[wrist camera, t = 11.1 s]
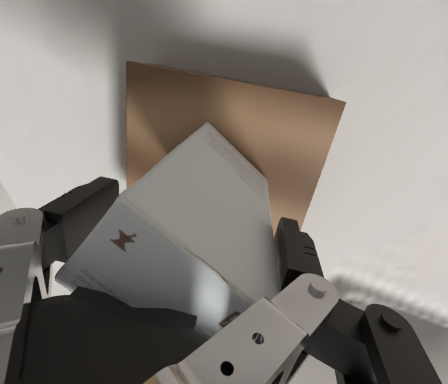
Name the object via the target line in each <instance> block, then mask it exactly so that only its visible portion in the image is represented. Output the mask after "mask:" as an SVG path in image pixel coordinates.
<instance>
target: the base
mask: <svg viewBox="0 0 448 384" xmlns="http://www.w3.org/2000/svg"><path fill="white" fill-rule="evenodd" d="M345 104H346V102H344V101H340V100H337V99H333V98H329V97H324V96H318V95H313V94H308V93H302V92H297V91H291V90H286V89H281V88H275V87H270V86H265V85H259V84H254V83H249V82H243V81H238V80H232V79H227V78H222V77H216V76H211V75H206V74H200V73H195V72H189V71H184V70H179V69H173V68H168V67H163V66H157V65H152V64H144V63H137V62H129V61H126V122H127V188H129V187H130V186H131V185H133V184H134V183H135V182H137V181H138V180H139V179H141V178H142V177H143V176H144V175H145V174H147V173H148V172H149V171H150V170H151V169H152V168H153V167H154V166H155V165H156V164H157V163H158V162H159V161H160V160H162V159H163V158H164V157H165V156H166V155H168V154H169V153H170V152H171V151H172V150H173V149H175V148H176V147H177V146H178V145H179V144H181V143H182V142H183V141H184V140H186V139H187V138H188V137H189V136H190V135H192V134H193V133H194V132H195V131H197V130H198V129H199V128H200V127H202V126H203V125H204V124H205V123H206V122H209V123H210V124H211V125H212V126H213V127H214V128H215V129H216V130H217V131H218V132H219V133H220V134H221V135H222V136H223V137H224V138H225V139H226V140H227V141H228V142H229V143H230V144H231V145H232V146H233V147H234V148H235V149H237V150H238V151H239V152H240V153H241V154H242V155H243V156H244V157H245V158H246V159H247V160H248V161H249V162H250V163H251V164H252V165H253V166H254V167H255V168H256V169H257V170H258V171H259V172H260V173H261V174H262V175H263V176H264V177H265V178H266V179H267V183H268V192H269V201H270V210H271V219H272V228H273V237H274V236H275V233H276V229H277V226H278V223H279V220H280V218H281V217H285V218H290V219H294V220H297V221H298V225H299V229H300V230H301V227H302V224H303V222H304V219H305V216H306V213H307V210H308V208H309V205H310V202H311V199H312V196H313V194H314V191H315V188H316V185H317V182H318V180H319V177H320V174H321V171H322V169H323V166H324V163H325V160H326V157H327V155H328V152H329V149H330V146H331V143H332V141H333V138H334V135H335V132H336V129H337V127H338V124H339V121H340V118H341V115H342V113H343V110H344V107H345Z"/></svg>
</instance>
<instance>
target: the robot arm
mask: <svg viewBox="0 0 448 384" xmlns="http://www.w3.org/2000/svg"><path fill="white" fill-rule="evenodd" d="M118 196H119V183H118V181H117V180H115V179H110V178H106V177H99V178H97V179H95V180H94V181H92V182H90V183H88V184H85V185H82V186H78V187H76V188H74V189H72V190H70V191H69V192H68V193H65V194H64V195H62V196H61V197H58V198H57V199H55V200H53V201H51V202H50V203H48V204H46V205H44V206H43V207H41V208H39V209H34V208H20V209H14V210H10V211H7V212H5V213H3V214H1V215H0V384H289V382H290V381H291V380H292V378H293V377H294V376H295V374H296V373H297V371H298V370H299V369H300V368H301V366H302V365H303V364H304V362H305V361H306V360H307V358H308V357H309V356H310V355H311V356H313V357H315V358H316V359H318V360H320V361H321V362H323V363H325V364H327V365H328V366H330V367H332V368H333V369H335V373H336V379H337V384H442V383H441V381H440V379H439V377H438V375H437V373H436V371H435V369H434V367H433V366H432V364H431V362H430V360H429V358H428V356H427V354H426V352H425V351H424V349H423V347H422V345H421V343H420V341H419V339H418V337H417V335H416V333H415V331H414V330H413V328H412V326H411V325H410V324H409V323H408V321H407V320H406V319H404V318H403V317H402V316H401V315H400V314H398V313H397V312H395V311H394V310H392V309H390V308H388V307H386V306H383V305H379V304H371V305H369V306H367V308H366V309H365V311H363V310H360V309H358V308H356V307H354V306H352V305H350V304H348V303H346V302H344V301H343V300H341V299H339V295H338V292H337V290H336V288H335V287H334V286H333V285H332V284H331V283H330V282H329V281H328V280H326V279H325V278H324V276H323V272H322V269H321V265H320V262H319V259H318V257H317V252H316V250H315V249H316V248H315V245H314V241H313V240H312V239H311V237H310V236H309V235H308V234H307V233H304V232H300V229H299V225H298V221H297V220H294V219H290V218H285V217H281V218H280V220H279V223H278V226H277V229H276V233H275V236H274V245H275V254H276V263H277V271H278V280H279V289H280V293H279V294H278V295H276V296H275V297H274V298H273V299H272V300H269V299H268V298H266V297H263V298H261V299H259V300H258V301H257V302H256V303H254V304H253V305H252V306H251V307H249V308H248V309H247V310H246V311H244V312H243V313H242V314H240V315H239V316H238V317H237V318H235V319H234V320H233V321H232V322H230V323H229V324H228V325H227V326H225V327H224V328H223V329H222V330H220V331H219V332H218V333H217V334H215V335H214V336H213V337H212V338H211V337H210V336H209V335H208V334H207V333H205V332H204V331H202V330H201V329H199V328H198V327H196V322H197V316H196V315H192V314H188V313H184V312H180V311H176V310H172V309H168V308H135V307H131V306H129V305H127V304H126V303H124V302H122V301H120V300H119V299H117V298H115V297H113V296H111V295H110V294H108V293H105V292H101V291H97V290H93V289H89V288H85V287H81V286H78V287H77V288H76V289H75V290H74V291H73V292H72V293H71V294H70V295H61V296H54V297H51V287H52V286H51V285H52V271H53V268H52V263H53V262H54V261H60V262H64V263H66V262H67V261H68V260H69V258H70V257H71V256H72V255H73V254H74V253H75V252H76V250H77V249H78V248H79V247H80V245H81V244H82V243H83V242H84V240H85V239H86V238H87V236H88V235H89V234H90V233H91V231H92V230H93V229H94V228H95V226H96V225H97V224H98V223H99V221H100V220H101V219H102V218H103V216H104V215H105V214H106V212H107V211H108V210H109V208H110V207H111V206H112V204H113V203H114V202H115V200H116V199H117V197H118Z"/></svg>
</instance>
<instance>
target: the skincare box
mask: <svg viewBox="0 0 448 384" xmlns="http://www.w3.org/2000/svg"><path fill="white" fill-rule="evenodd" d="M55 281H56V282H58V283H59V284H61V285H62V286H64V287H65V288H67V289H68V290H70V291H71V292H73V291H74V290H75V289H76V288H77V287H78V286H81V287H85V288H89V289H93V290H97V291H101V292H105V293H108V294H110V295H111V296H113V297H115V298H117V299H119V300H120V301H122V302H124V303H126V304H127V305H129V306H131V307H135V308H168V309H172V310H176V311H180V312H184V313H188V314H192V315H196V316H197V322H196V327H198V328H199V329H201V330H202V331H204V332H205V333H207V334H208V335H209V336H210V337H211V338H212V337H213V336H214V335H215V334H217V333H218V332H219V331H220V330H222V329H223V328H224V327H225V326H227V325H228V324H229V323H230V322H232V321H233V320H234V319H235V318H237V317H238V316H239V315H240V314H242V313H243V312H244V311H246V310H247V309H248V308H249V307H251V306H252V305H253V304H254V303H256V302H257V301H258V300H259V299H261V298H263V297H266V298H268V299H269V300H272V299H273V298H274V297H275V296H276V295H278V294H279V293H280V289H279V280H278V271H277V263H276V254H275V245H274V237H273V228H272V219H271V210H270V201H269V192H268V183H267V179H266V178H265V177H264V176H263V175H262V174H261V173H260V172H259V171H258V170H257V169H256V168H255V167H254V166H253V165H252V164H251V163H250V162H249V161H248V160H247V159H246V158H245V157H244V156H243V155H242V154H241V153H240V152H239V151H238V150H237V149H235V148H234V147H233V146H232V145H231V144H230V143H229V142H228V141H227V140H226V139H225V138H224V137H223V136H222V135H221V134H220V133H219V132H218V131H217V130H216V129H215V128H214V127H213V126H212V125H211V124H210V123H209V122H206V123H205V124H204V125H203V126H202V127H200V128H199V129H198V130H197V131H195V132H194V133H193V134H192V135H190V136H189V137H188V138H187V139H186V140H184V141H183V142H182V143H181V144H179V145H178V146H177V147H176V148H175V149H173V150H172V151H171V152H170V153H169V154H168V155H166V156H165V157H164V158H163V159H162V160H160V161H159V162H158V163H157V164H156V165H155V166H154V167H153V168H152V169H151V170H150V171H149V172H148V173H147V174H145V175H144V176H143V177H142V178H141V179H139V180H138V181H137V182H135V183H134V184H133V185H131V186H130V187H129V188H127V189H126V190H124V191H123V192H122V193H121V194H120V195H119V196H118V197H117V199H116V200H115V202H114V203H113V204H112V206H111V207H110V208H109V210H108V211H107V212H106V214H105V215H104V216H103V218H102V219H101V220H100V221H99V223H98V224H97V225H96V226H95V228H94V229H93V230H92V231H91V233H90V234H89V235H88V236H87V238H86V239H85V240H84V242H83V243H82V244H81V245H80V247H79V248H78V249H77V250H76V252H75V253H74V254H73V255H72V256H71V257H70V258H69V260H68V261H67V262H66V263H65V264H64V265H63V266H62V267H61V268H60V270H59V271H58V272H57V274H56V276H55Z"/></svg>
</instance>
